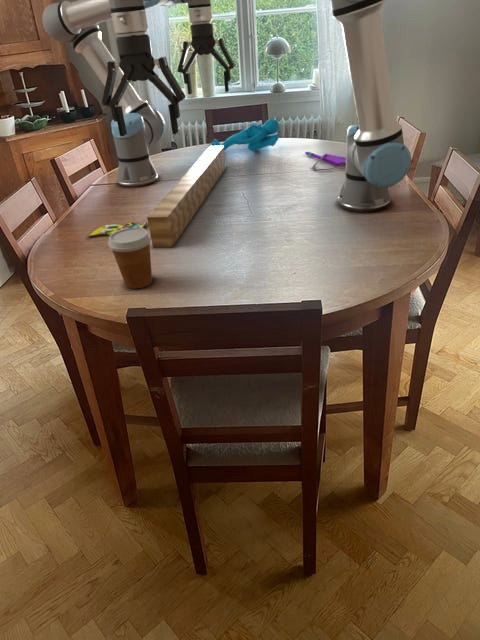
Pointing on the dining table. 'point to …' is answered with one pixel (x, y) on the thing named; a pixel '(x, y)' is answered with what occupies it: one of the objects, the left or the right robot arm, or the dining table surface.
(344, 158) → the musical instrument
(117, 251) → the disposable coffee cup
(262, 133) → the toy
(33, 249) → the dining table surface
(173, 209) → the post
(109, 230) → the toy
